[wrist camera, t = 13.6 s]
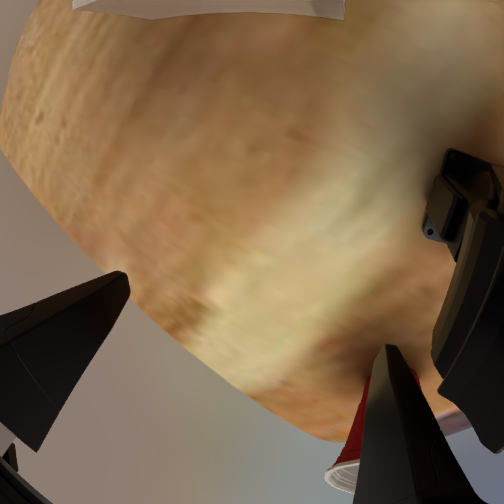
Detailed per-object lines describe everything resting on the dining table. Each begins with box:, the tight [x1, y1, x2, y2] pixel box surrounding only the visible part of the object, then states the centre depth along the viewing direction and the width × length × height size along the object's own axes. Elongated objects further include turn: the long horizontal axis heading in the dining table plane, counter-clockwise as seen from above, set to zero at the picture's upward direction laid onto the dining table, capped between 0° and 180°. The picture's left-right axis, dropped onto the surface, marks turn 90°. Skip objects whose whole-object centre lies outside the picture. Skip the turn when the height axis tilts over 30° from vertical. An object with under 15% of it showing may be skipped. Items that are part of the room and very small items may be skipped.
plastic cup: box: [324, 369, 422, 494], centre depth 22 cm, size 11×11×12 cm
